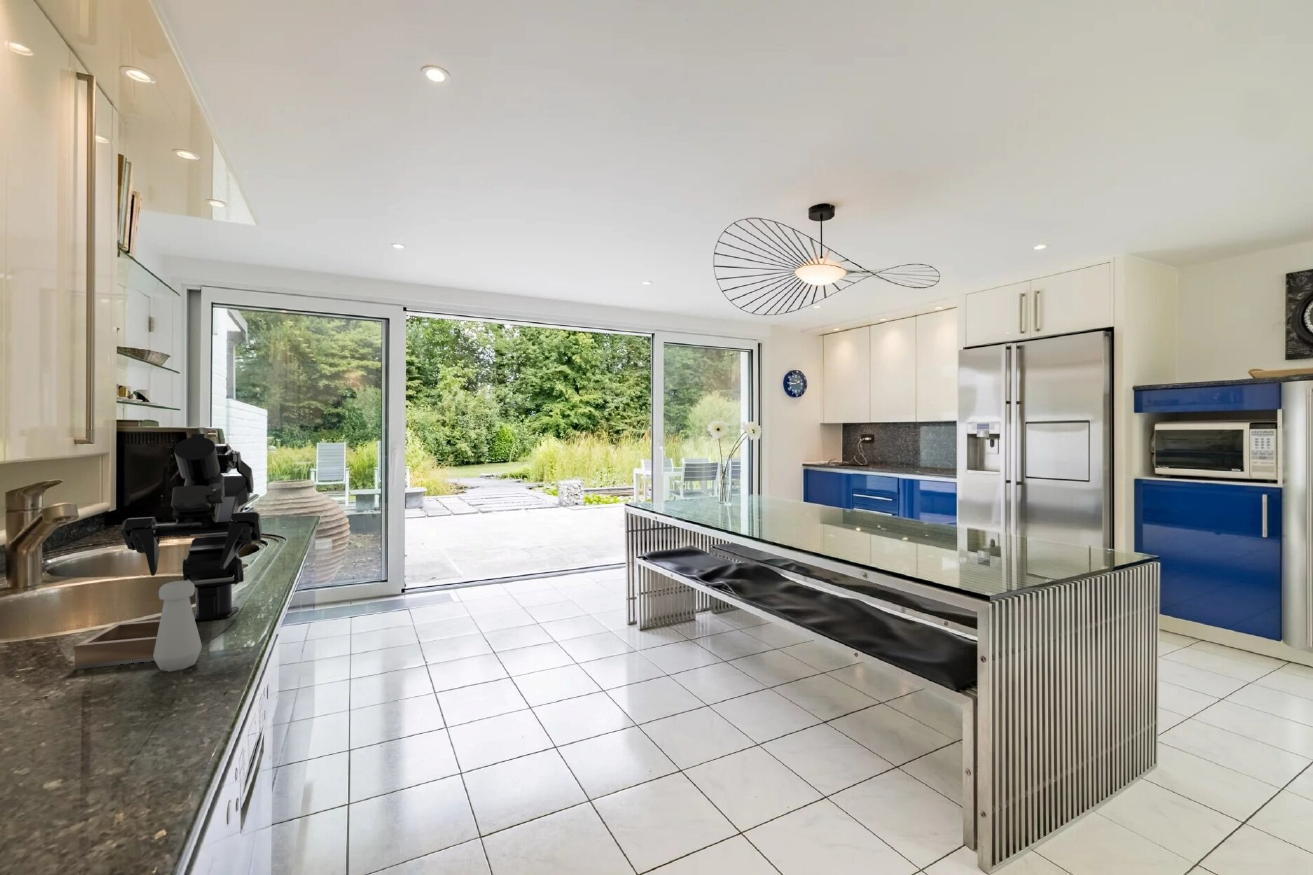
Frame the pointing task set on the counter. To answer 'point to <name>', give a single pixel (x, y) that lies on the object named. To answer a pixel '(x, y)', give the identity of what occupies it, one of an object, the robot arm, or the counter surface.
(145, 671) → the counter surface
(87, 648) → the shaker dock
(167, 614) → the salt shaker
